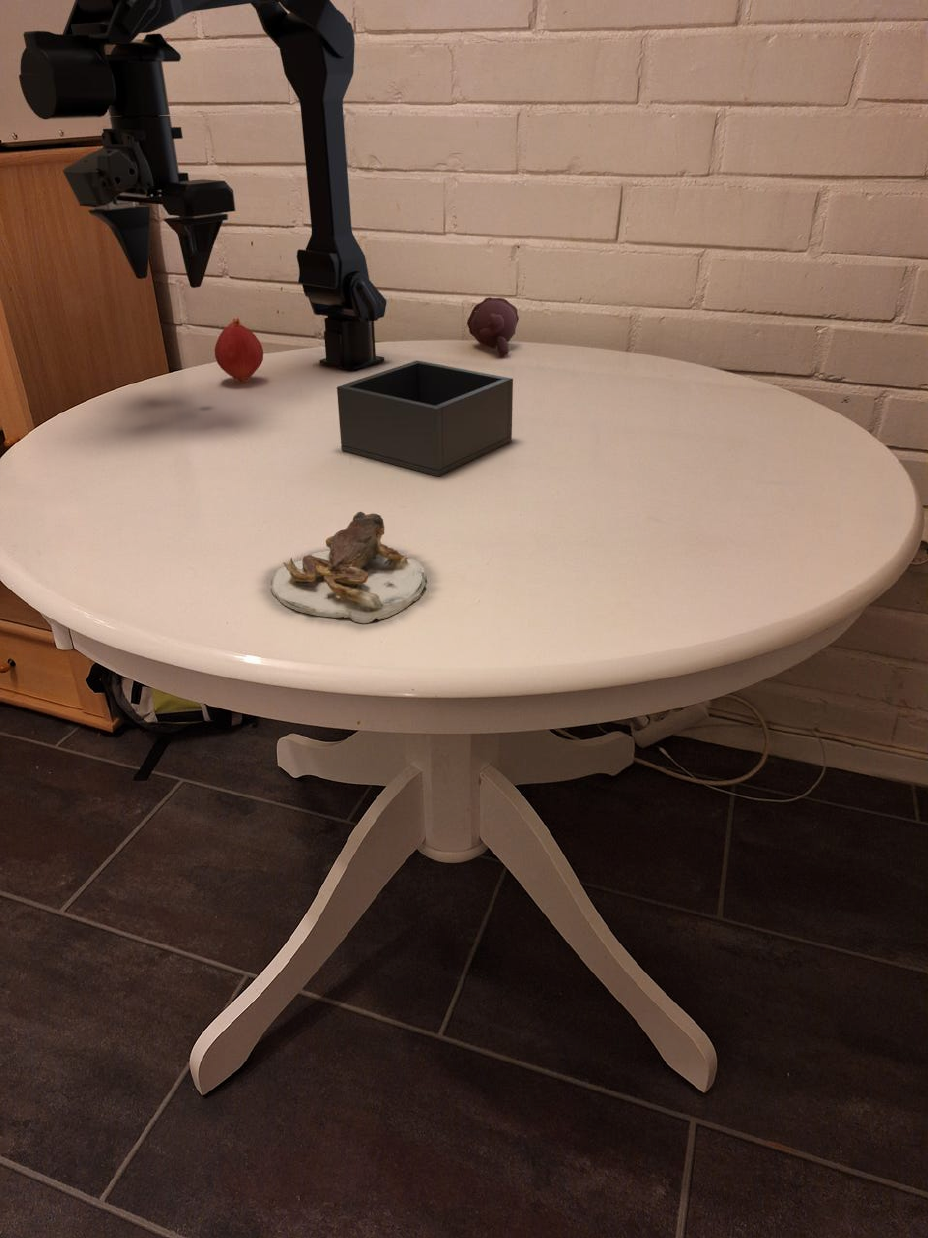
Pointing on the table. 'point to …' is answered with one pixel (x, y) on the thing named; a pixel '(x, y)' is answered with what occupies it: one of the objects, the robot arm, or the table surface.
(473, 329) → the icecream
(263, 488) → the table surface
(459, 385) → the bin
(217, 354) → the onion
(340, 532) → the frog figurine
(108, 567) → the table surface
